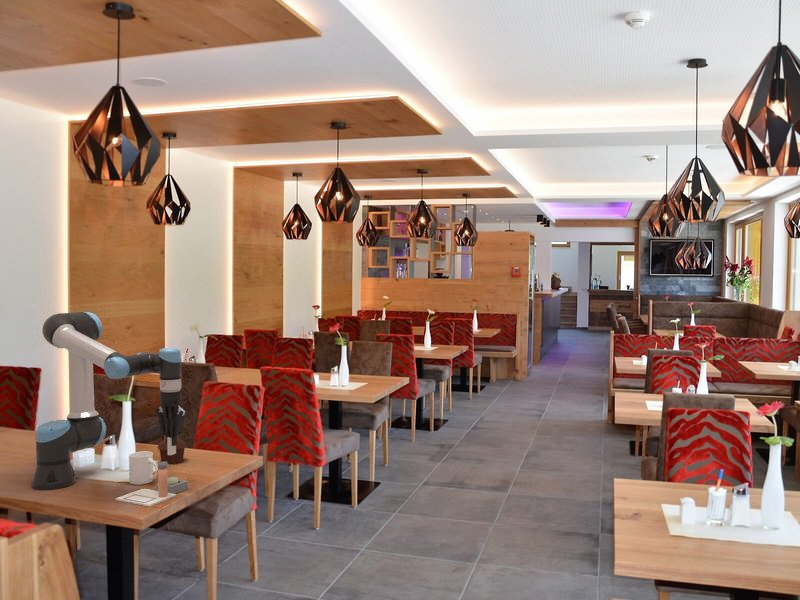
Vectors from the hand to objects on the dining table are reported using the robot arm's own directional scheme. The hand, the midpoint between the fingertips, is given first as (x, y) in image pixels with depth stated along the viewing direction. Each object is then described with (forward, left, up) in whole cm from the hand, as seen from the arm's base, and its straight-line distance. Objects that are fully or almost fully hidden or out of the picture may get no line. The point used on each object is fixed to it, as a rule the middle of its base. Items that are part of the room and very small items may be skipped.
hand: (171, 454), depth 260 cm
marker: (+3, -8, -13) cm, 15 cm away
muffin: (-29, +30, -14) cm, 44 cm away
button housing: (0, 0, -14) cm, 14 cm away
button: (0, 0, -12) cm, 12 cm away
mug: (-17, +3, -14) cm, 22 cm away
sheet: (-2, -11, -14) cm, 17 cm away
